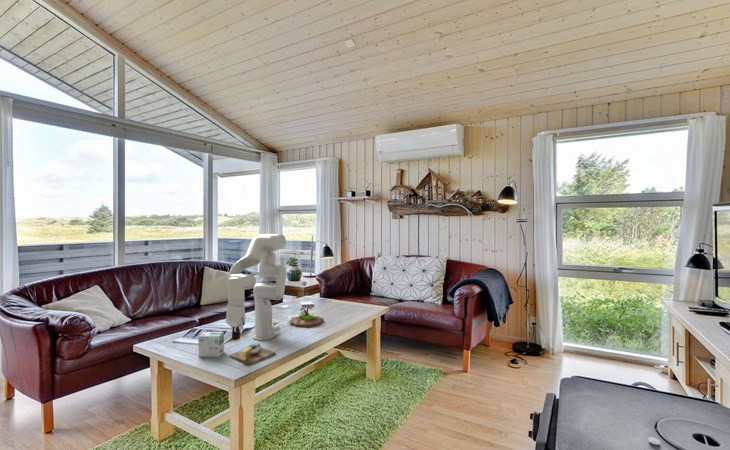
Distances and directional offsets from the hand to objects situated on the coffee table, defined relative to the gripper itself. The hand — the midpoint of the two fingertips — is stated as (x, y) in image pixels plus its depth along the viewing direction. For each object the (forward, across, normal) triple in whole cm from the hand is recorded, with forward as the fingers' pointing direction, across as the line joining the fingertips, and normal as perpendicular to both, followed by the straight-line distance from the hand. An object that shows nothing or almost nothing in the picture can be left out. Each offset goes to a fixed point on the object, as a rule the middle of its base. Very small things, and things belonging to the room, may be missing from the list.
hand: (235, 339), depth 179 cm
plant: (+9, -18, +63) cm, 66 cm away
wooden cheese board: (+10, +2, +8) cm, 13 cm away
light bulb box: (+10, -16, -4) cm, 19 cm away
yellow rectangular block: (+9, +3, +7) cm, 11 cm away
